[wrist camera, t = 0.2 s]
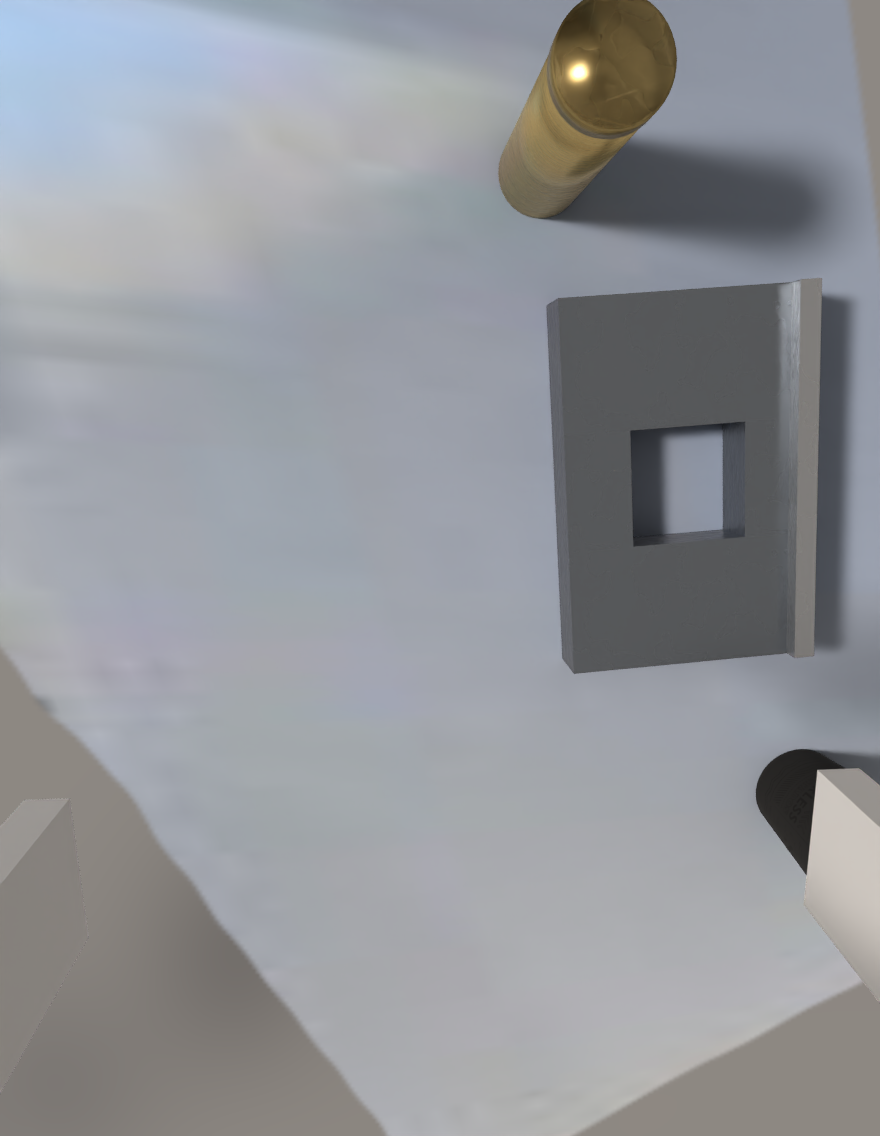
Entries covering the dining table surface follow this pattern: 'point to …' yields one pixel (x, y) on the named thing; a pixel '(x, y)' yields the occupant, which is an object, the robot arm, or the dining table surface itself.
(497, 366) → the dining table surface
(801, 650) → the jig
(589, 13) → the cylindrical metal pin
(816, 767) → the black tumbler with straw
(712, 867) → the dining table surface
